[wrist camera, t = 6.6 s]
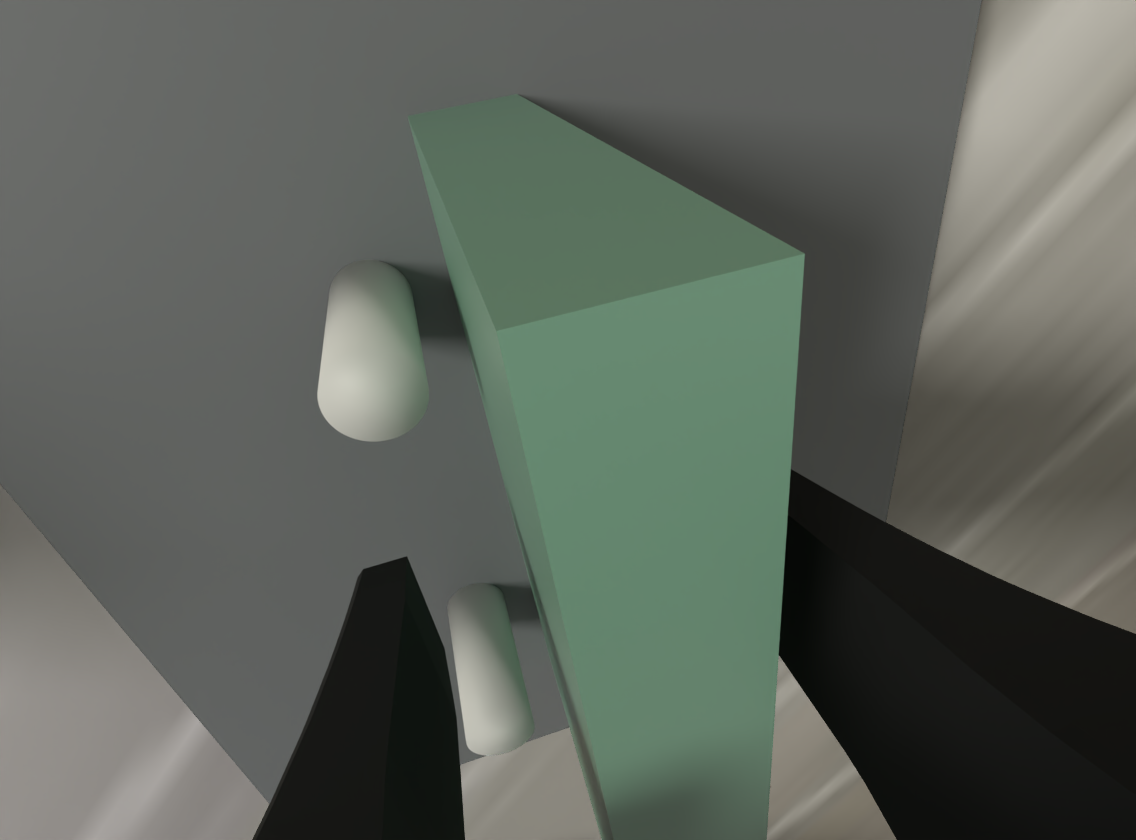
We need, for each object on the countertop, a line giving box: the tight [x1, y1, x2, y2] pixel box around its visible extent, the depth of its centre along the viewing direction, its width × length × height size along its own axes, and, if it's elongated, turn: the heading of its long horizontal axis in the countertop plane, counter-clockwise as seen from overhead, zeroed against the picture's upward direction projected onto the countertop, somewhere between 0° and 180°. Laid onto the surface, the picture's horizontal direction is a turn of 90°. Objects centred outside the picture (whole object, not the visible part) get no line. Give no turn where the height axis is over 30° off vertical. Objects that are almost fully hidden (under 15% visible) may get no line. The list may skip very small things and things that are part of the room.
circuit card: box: [408, 94, 805, 840], centre depth 9 cm, size 12×2×7 cm, turn 9°
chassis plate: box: [0, 0, 982, 804], centre depth 11 cm, size 18×16×4 cm
